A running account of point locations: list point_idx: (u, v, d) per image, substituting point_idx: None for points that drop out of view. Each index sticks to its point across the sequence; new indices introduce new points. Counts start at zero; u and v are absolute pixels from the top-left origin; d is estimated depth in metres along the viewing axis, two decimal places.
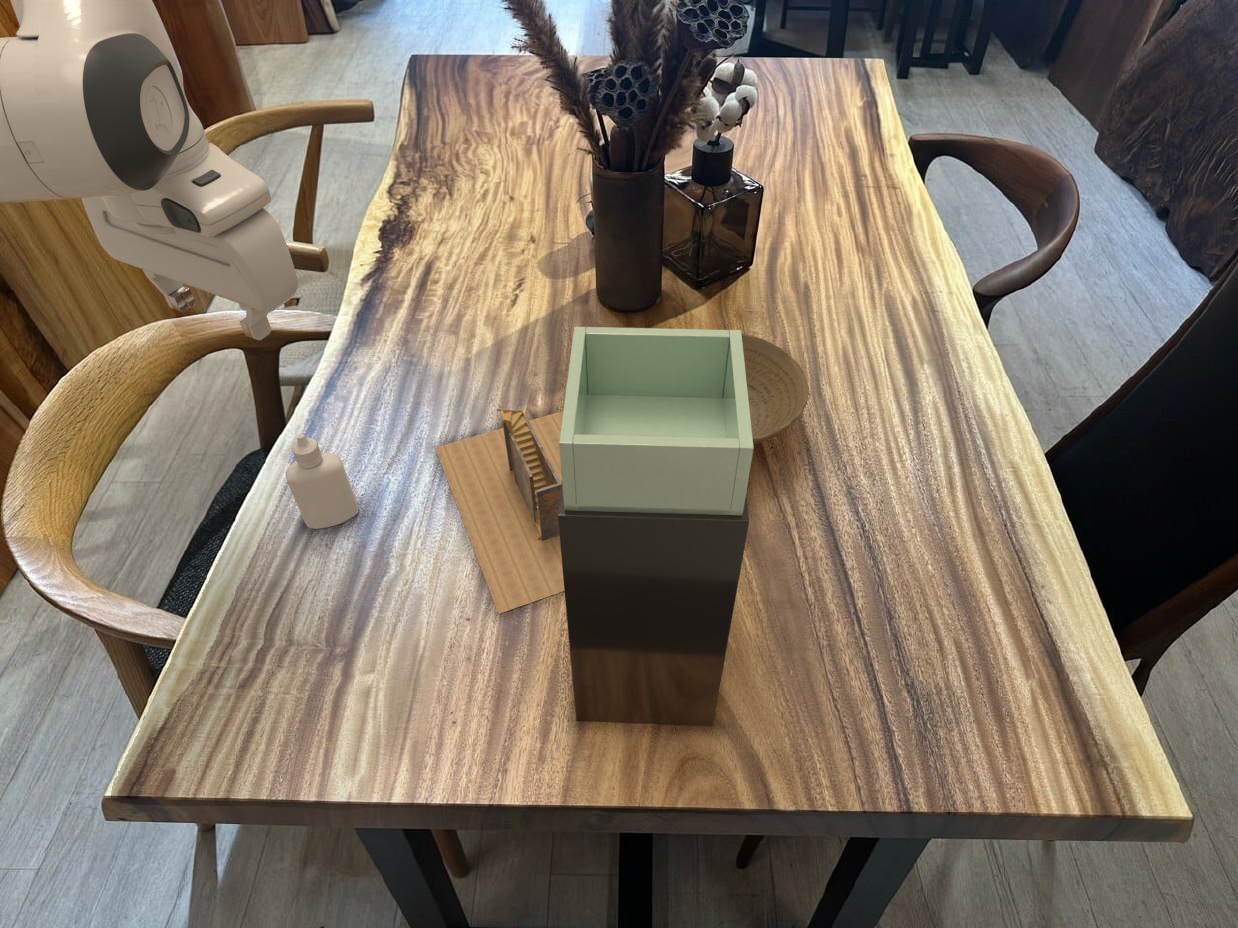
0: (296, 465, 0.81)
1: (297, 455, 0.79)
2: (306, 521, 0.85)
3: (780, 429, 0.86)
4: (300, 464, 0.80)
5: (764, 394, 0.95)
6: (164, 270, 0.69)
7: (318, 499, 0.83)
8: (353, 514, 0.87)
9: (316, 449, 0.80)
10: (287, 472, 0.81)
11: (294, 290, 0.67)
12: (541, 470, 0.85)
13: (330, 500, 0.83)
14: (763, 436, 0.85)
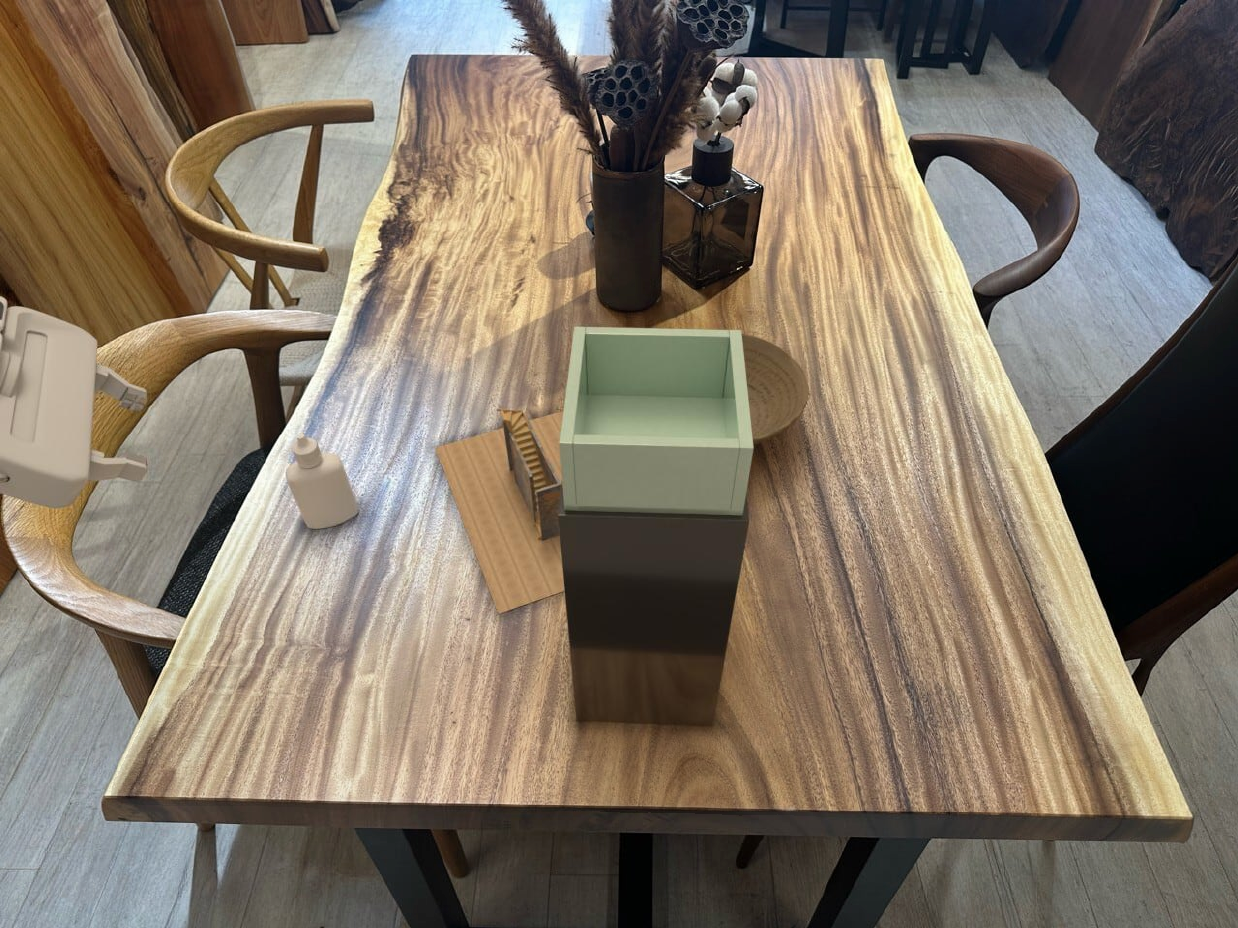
0: (296, 465, 0.81)
1: (297, 455, 0.79)
2: (306, 521, 0.85)
3: (780, 429, 0.86)
4: (300, 464, 0.80)
5: (764, 394, 0.95)
6: (79, 412, 0.66)
7: (318, 499, 0.83)
8: (353, 514, 0.87)
9: (316, 449, 0.80)
10: (287, 472, 0.81)
11: None
12: (541, 470, 0.85)
13: (330, 500, 0.83)
14: (763, 436, 0.85)
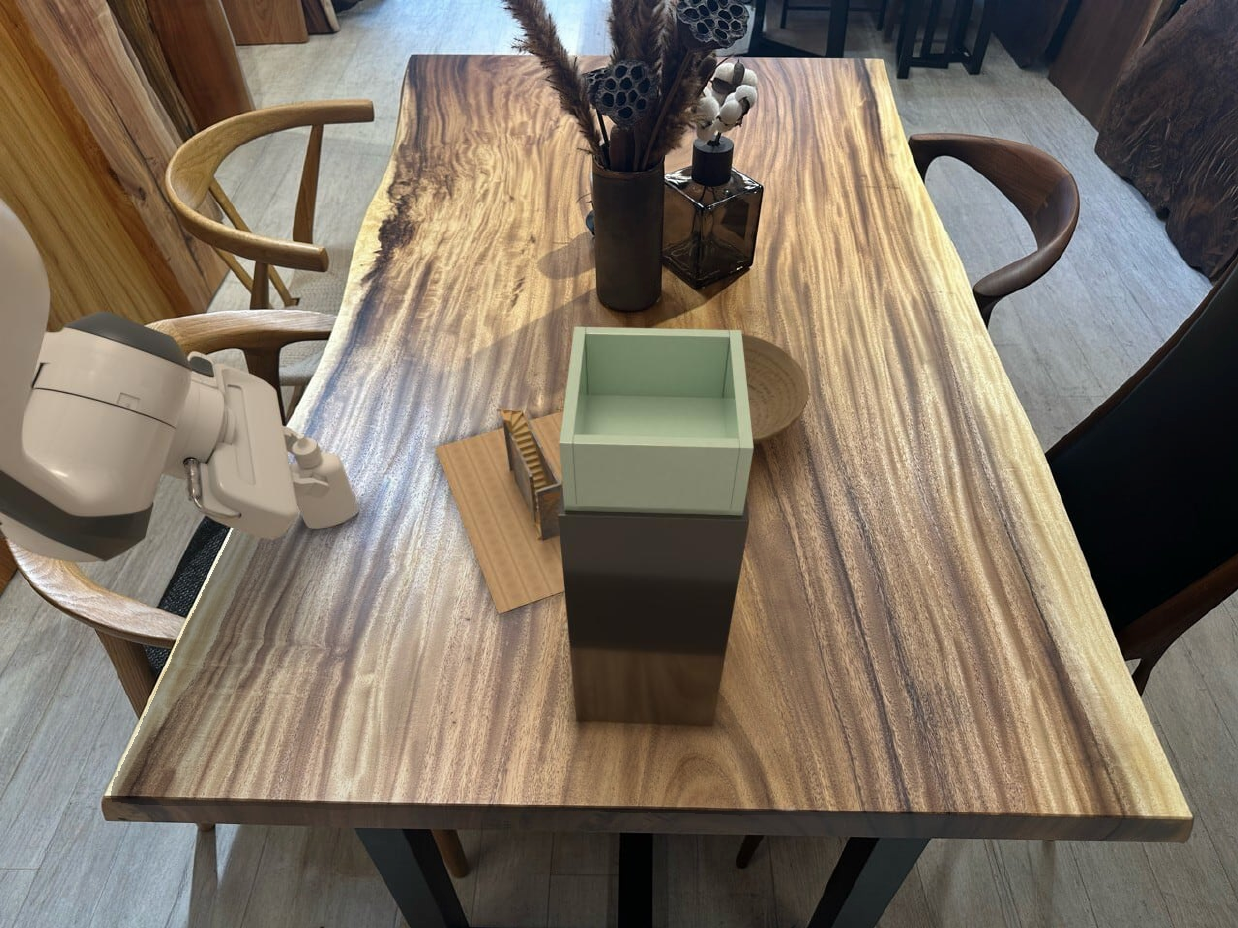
0: (296, 465, 0.81)
1: (297, 455, 0.79)
2: (306, 521, 0.85)
3: (780, 429, 0.86)
4: (300, 464, 0.80)
5: (764, 394, 0.95)
6: (280, 455, 0.77)
7: (318, 499, 0.83)
8: (353, 514, 0.87)
9: (316, 449, 0.80)
10: None
11: None
12: (541, 470, 0.85)
13: (330, 500, 0.83)
14: (763, 436, 0.85)
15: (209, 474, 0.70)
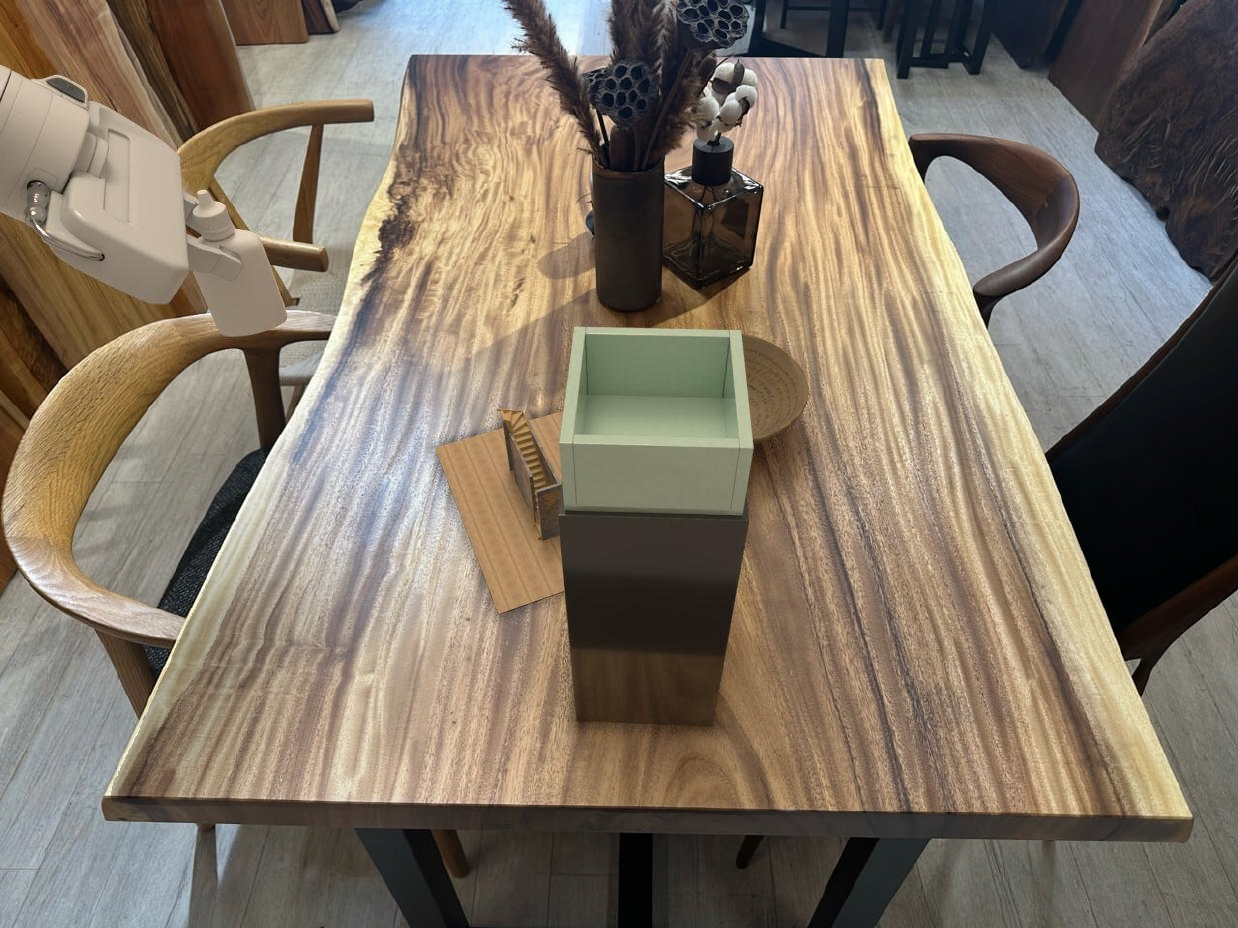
0: (200, 239, 0.63)
1: (198, 219, 0.61)
2: (218, 324, 0.66)
3: (780, 429, 0.86)
4: (204, 234, 0.61)
5: (764, 394, 0.95)
6: (172, 210, 0.58)
7: (230, 289, 0.64)
8: (280, 321, 0.68)
9: (224, 214, 0.61)
10: None
11: None
12: (541, 470, 0.85)
13: (247, 293, 0.65)
14: (763, 436, 0.85)
15: (62, 203, 0.52)
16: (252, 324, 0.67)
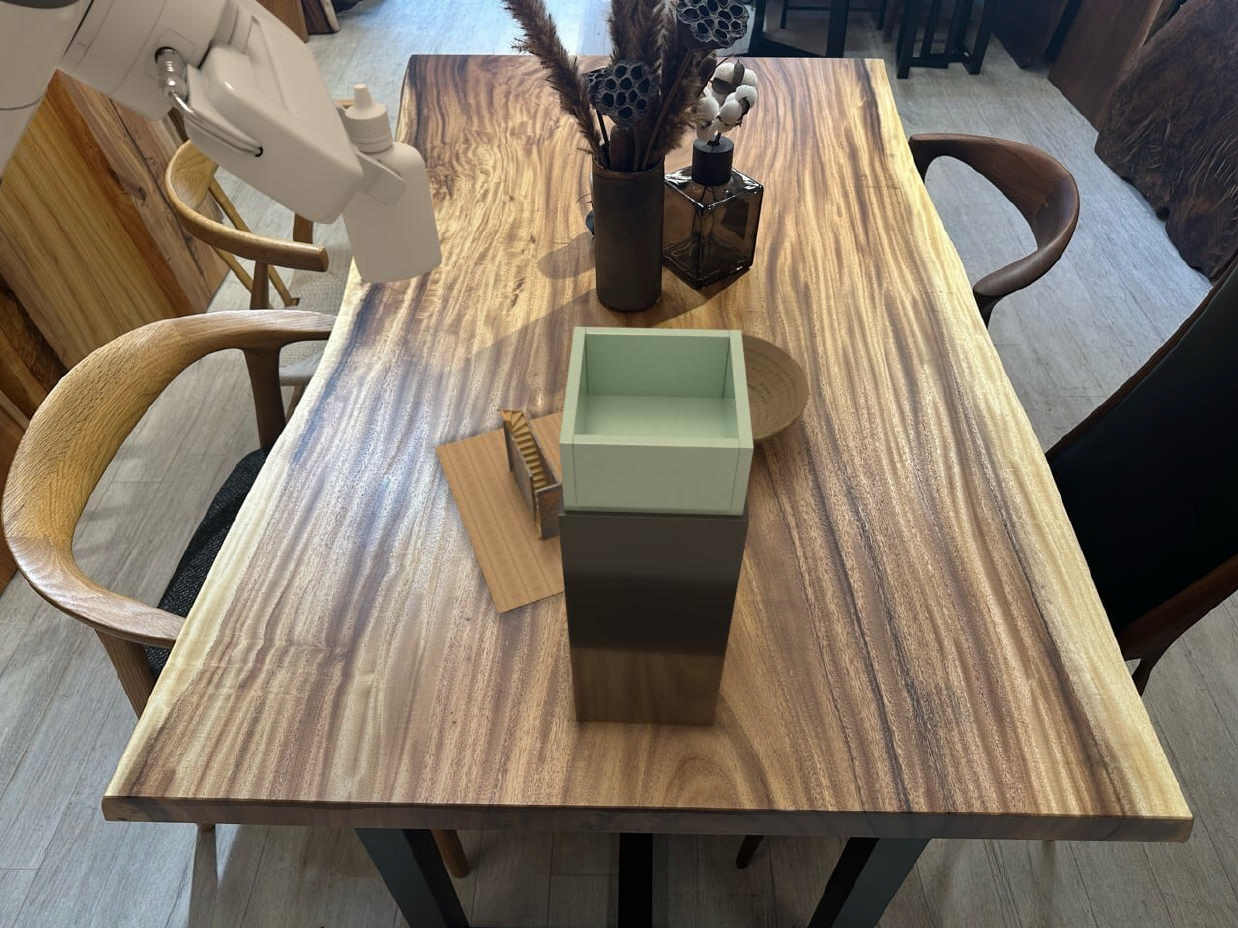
0: None
1: (354, 122, 0.47)
2: (361, 266, 0.52)
3: (780, 429, 0.86)
4: (357, 144, 0.47)
5: (764, 394, 0.95)
6: (326, 106, 0.44)
7: (384, 218, 0.50)
8: (435, 264, 0.54)
9: (385, 117, 0.47)
10: None
11: None
12: (541, 470, 0.85)
13: (402, 225, 0.51)
14: (763, 436, 0.85)
15: (203, 78, 0.38)
16: (403, 267, 0.53)
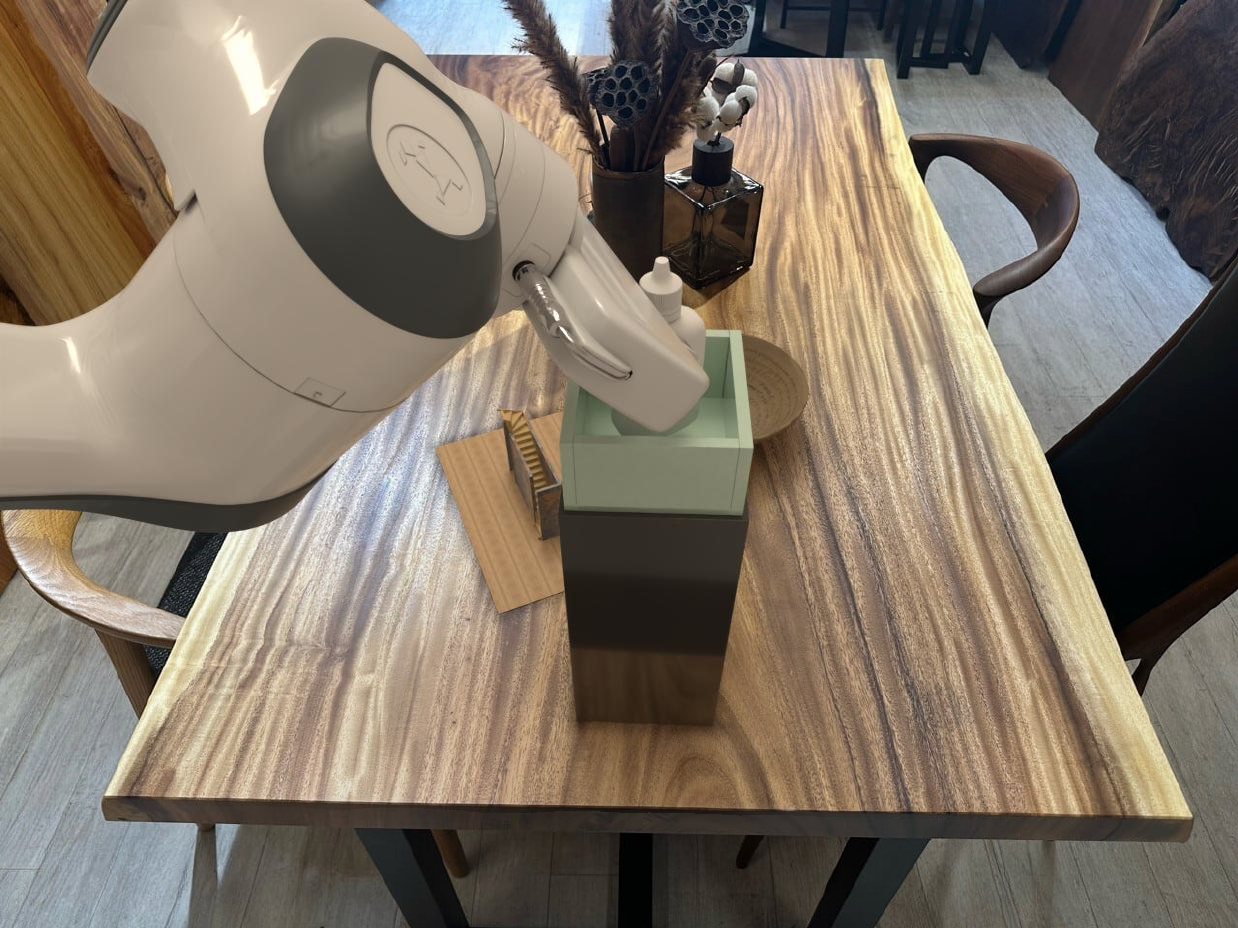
0: None
1: (652, 296, 0.44)
2: (626, 427, 0.50)
3: (780, 429, 0.86)
4: None
5: (764, 394, 0.95)
6: (638, 288, 0.42)
7: None
8: (693, 419, 0.52)
9: (681, 288, 0.45)
10: None
11: None
12: (541, 470, 0.85)
13: None
14: (763, 436, 0.85)
15: (566, 294, 0.35)
16: None
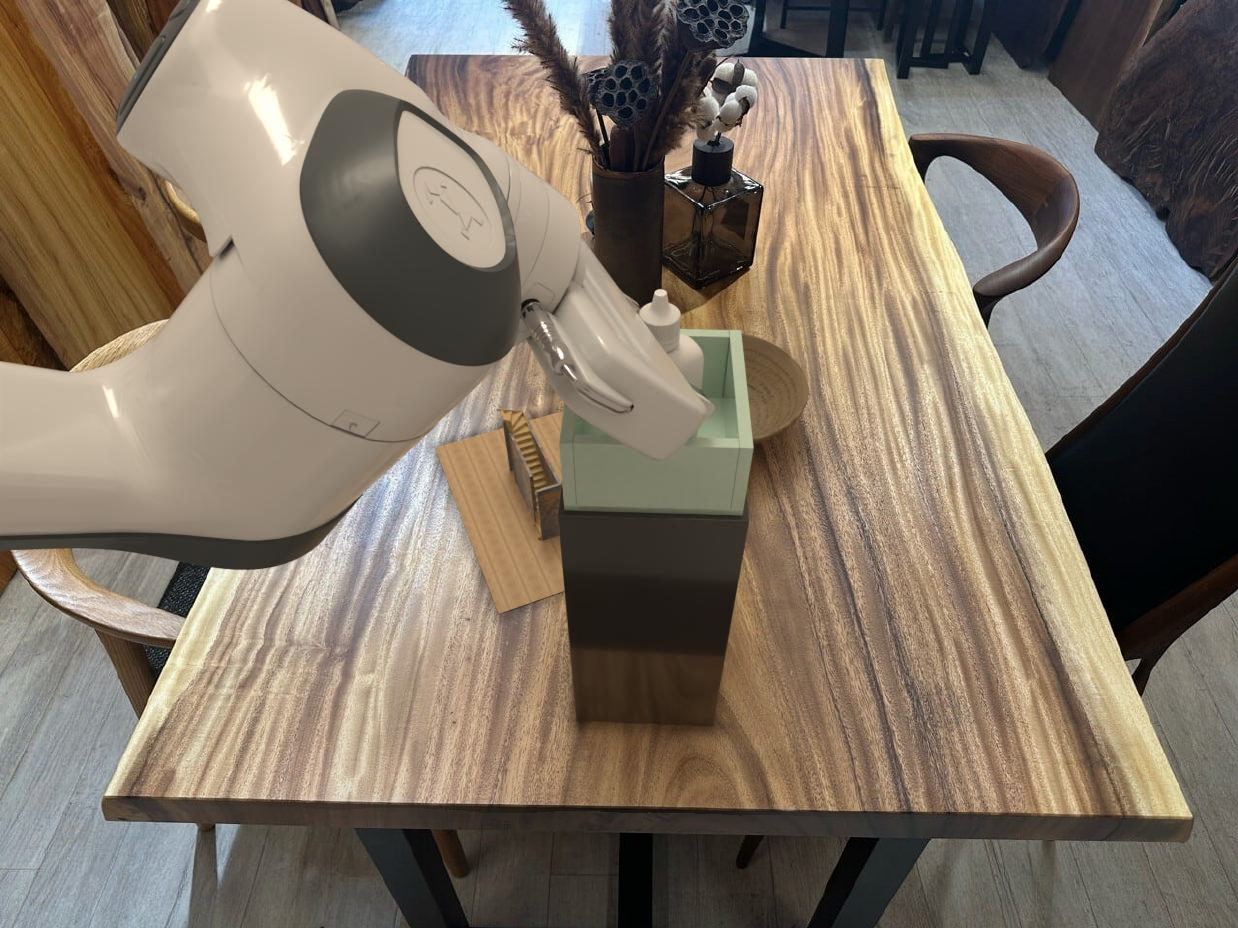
0: None
1: (651, 328, 0.46)
2: None
3: (780, 429, 0.86)
4: None
5: (764, 394, 0.95)
6: (638, 319, 0.44)
7: None
8: None
9: (679, 319, 0.46)
10: None
11: None
12: (541, 470, 0.85)
13: None
14: (763, 436, 0.85)
15: (569, 331, 0.37)
16: None
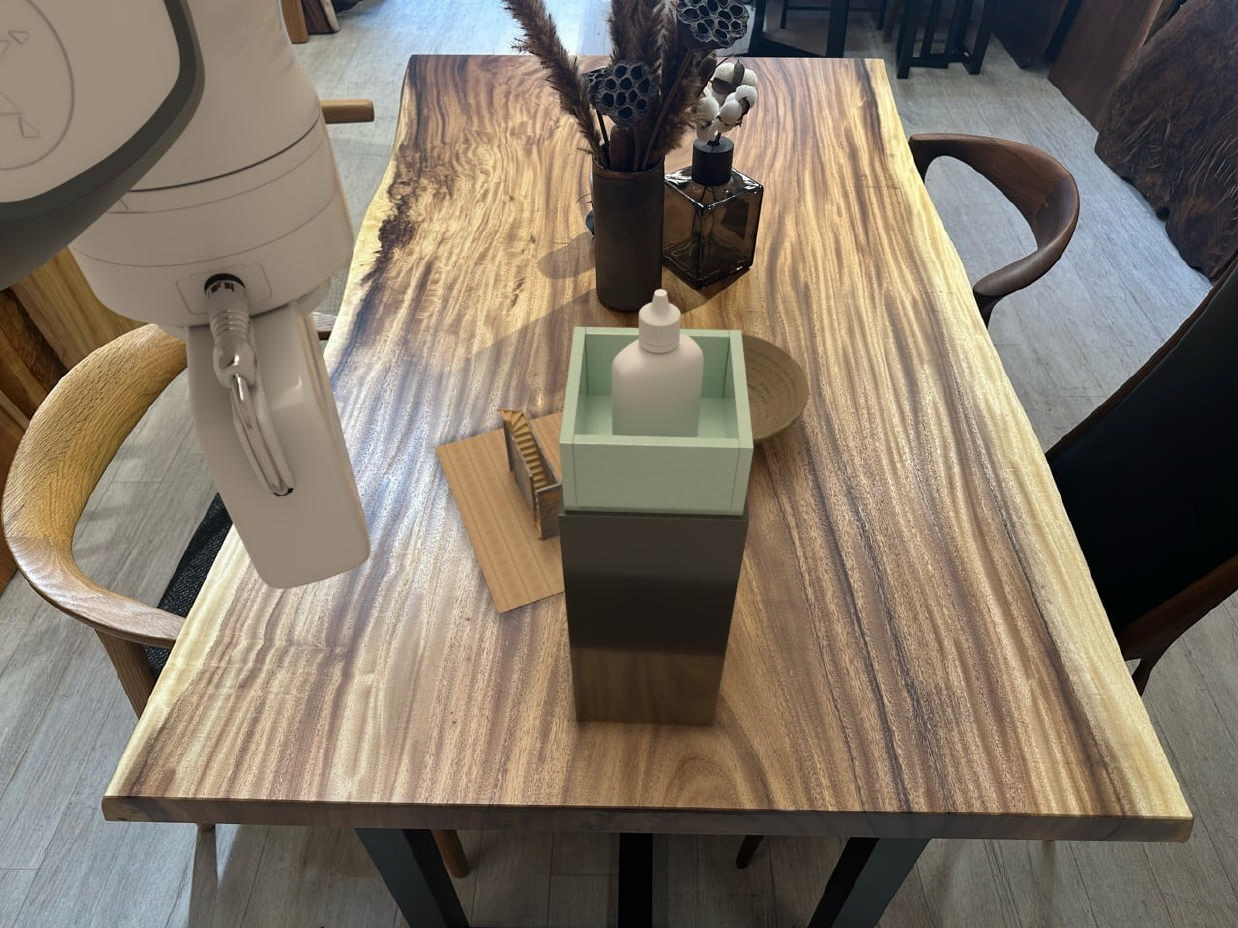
0: (635, 350, 0.48)
1: (651, 328, 0.46)
2: None
3: (780, 429, 0.86)
4: (649, 346, 0.47)
5: (764, 394, 0.95)
6: (335, 407, 0.32)
7: (661, 410, 0.49)
8: None
9: (679, 319, 0.46)
10: (620, 362, 0.48)
11: None
12: (541, 470, 0.85)
13: (675, 413, 0.50)
14: (763, 436, 0.85)
15: (263, 348, 0.25)
16: None
